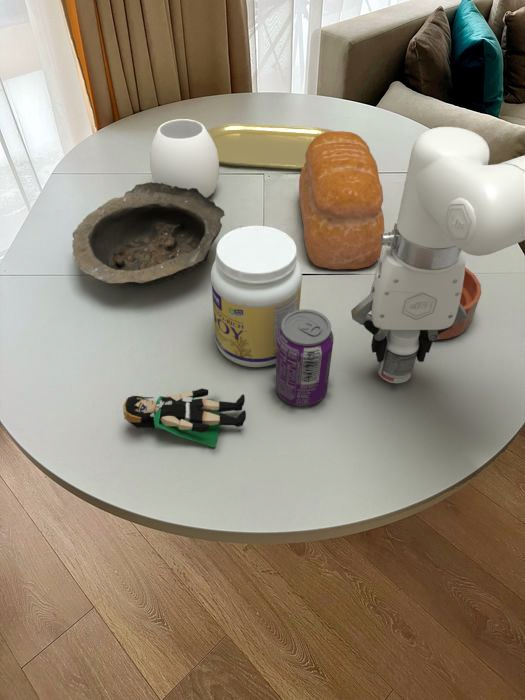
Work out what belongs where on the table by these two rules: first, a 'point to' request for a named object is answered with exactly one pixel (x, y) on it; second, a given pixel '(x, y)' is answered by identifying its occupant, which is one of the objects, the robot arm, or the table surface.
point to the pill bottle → (399, 355)
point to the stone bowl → (147, 235)
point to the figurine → (184, 415)
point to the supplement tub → (253, 292)
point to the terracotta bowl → (465, 304)
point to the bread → (341, 202)
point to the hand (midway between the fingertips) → (398, 353)
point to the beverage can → (303, 357)
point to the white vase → (185, 156)
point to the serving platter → (263, 145)
